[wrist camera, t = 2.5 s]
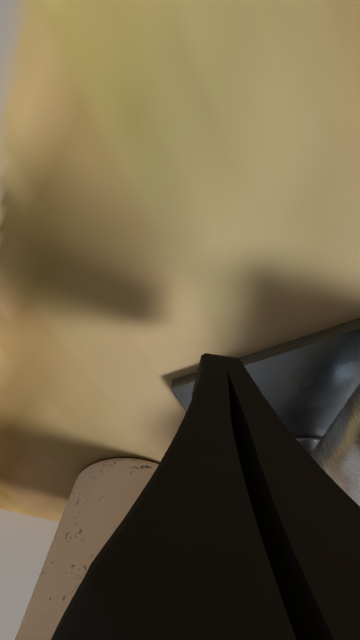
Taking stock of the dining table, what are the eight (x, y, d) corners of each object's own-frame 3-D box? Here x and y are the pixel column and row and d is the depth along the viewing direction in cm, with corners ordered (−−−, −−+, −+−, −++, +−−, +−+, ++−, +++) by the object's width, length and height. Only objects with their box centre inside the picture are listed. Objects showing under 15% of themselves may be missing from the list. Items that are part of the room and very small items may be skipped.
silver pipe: (319, 498, 17) (361, 615, 13) (249, 488, 17) (267, 603, 13) (451, 341, 11) (631, 469, 6) (340, 323, 11) (444, 441, 6)
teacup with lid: (52, 487, 20) (-88, 801, 10) (118, 434, 17) (-3, 850, 7) (172, 540, 24) (154, 811, 14) (249, 506, 20) (300, 847, 10)
